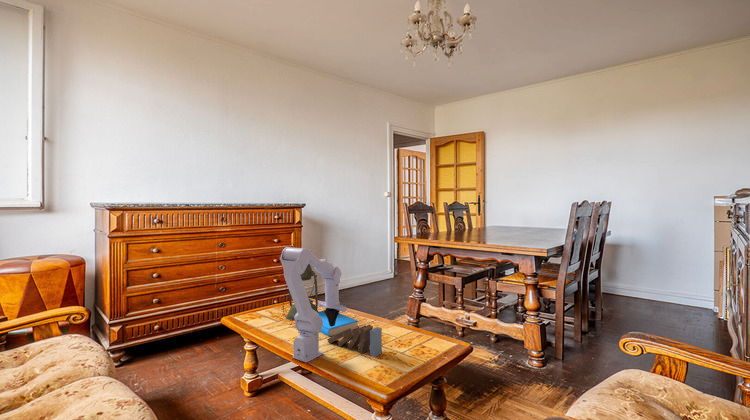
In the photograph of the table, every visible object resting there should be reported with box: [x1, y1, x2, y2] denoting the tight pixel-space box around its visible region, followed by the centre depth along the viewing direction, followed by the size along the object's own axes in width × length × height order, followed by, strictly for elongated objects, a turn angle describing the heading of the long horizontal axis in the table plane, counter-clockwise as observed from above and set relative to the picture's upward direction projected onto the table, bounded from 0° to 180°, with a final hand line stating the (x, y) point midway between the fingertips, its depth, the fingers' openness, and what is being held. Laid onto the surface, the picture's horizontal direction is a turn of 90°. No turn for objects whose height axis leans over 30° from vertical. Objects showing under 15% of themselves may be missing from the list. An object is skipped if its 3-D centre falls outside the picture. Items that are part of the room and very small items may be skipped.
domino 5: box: [369, 326, 383, 358], centre depth 139 cm, size 2×5×10 cm, turn 144°
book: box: [317, 310, 359, 337], centre depth 173 cm, size 17×4×25 cm
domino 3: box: [347, 325, 366, 351], centre depth 144 cm, size 2×5×10 cm
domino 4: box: [357, 324, 374, 354], centre depth 142 cm, size 2×5×10 cm, turn 145°
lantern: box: [282, 264, 319, 322], centre depth 188 cm, size 21×18×30 cm
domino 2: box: [337, 326, 360, 348], centre depth 147 cm, size 2×5×10 cm
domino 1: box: [326, 328, 351, 344], centre depth 150 cm, size 2×5×10 cm
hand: (332, 325), depth 152 cm, fingers closed
